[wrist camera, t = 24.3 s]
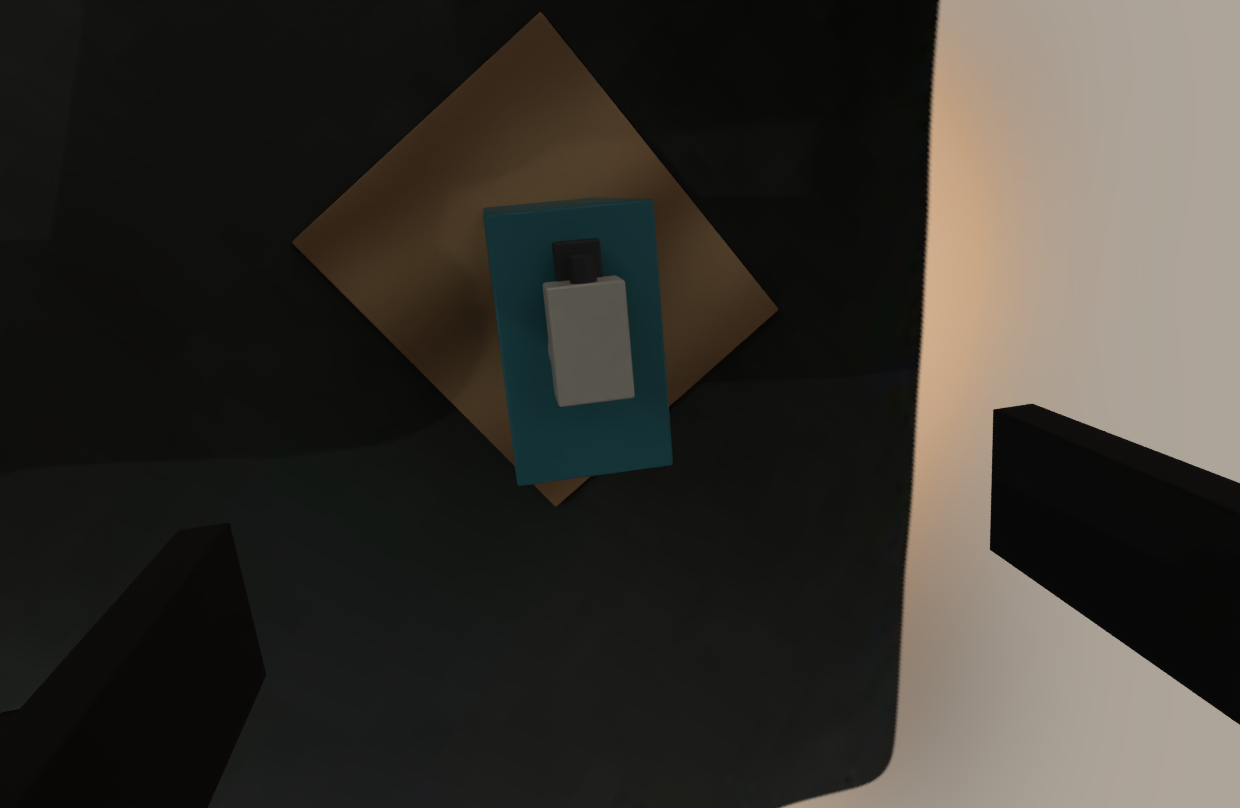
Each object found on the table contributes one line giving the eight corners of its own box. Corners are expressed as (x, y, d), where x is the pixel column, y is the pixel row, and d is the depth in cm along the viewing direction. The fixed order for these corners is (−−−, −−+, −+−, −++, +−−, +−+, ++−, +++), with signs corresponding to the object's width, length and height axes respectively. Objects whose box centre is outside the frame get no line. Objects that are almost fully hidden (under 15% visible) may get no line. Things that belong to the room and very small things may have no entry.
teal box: (507, 393, 45) (483, 207, 43) (614, 380, 46) (597, 197, 43) (520, 514, 28) (482, 217, 26) (690, 490, 29) (671, 199, 26)
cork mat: (293, 241, 42) (291, 242, 42) (539, 13, 41) (540, 11, 41) (555, 504, 48) (556, 507, 47) (776, 308, 47) (779, 309, 46)
